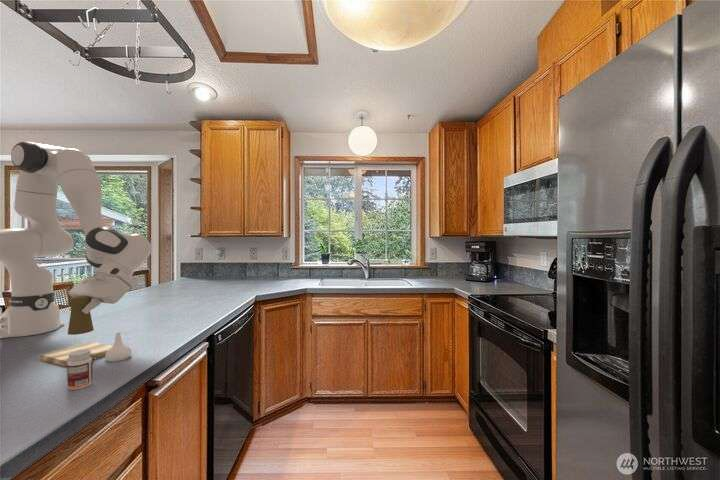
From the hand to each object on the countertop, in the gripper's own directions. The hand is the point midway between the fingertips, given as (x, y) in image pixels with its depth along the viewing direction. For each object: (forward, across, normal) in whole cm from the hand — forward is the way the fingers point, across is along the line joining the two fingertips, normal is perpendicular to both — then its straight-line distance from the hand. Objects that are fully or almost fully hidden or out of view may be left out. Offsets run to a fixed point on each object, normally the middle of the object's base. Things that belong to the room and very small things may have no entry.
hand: (77, 311), depth 99 cm
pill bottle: (+18, +23, +2) cm, 29 cm away
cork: (+4, 0, +5) cm, 6 cm away
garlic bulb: (+7, +13, +12) cm, 19 cm away
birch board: (+9, 0, +10) cm, 14 cm away
